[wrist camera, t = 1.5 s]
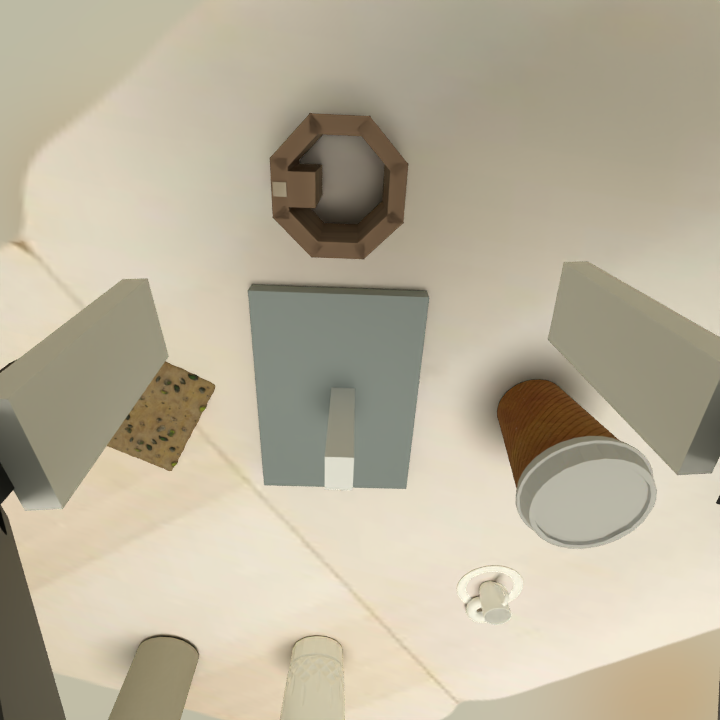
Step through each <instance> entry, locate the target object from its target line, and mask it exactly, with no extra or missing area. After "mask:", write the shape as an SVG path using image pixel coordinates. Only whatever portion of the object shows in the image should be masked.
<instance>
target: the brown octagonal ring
mask: <svg viewBox="0 0 720 720" xmlns="http://www.w3.org/2000/svg"><path fill="white" fill-rule="evenodd" d="M323 134H326V135H348V136H362V137H363V138H364V140H365V141H366V142H367V143H368V144H369V146H370V147H371V148H372V149H373V150H374V152H375V153H376V154H377V155H378V157H379V158H380V159H381V160H382V161H383V163H384V164H385V167H384V184H383V200H382V202H381V203H380V204H378V205H377V206H376V207H375V208H374V209H373V210H372V211H371V212H370V213H369V214H368V215H367V216H366V217H365V218H364V219H363V220H362V221H361V222H360V223H358V224H336V223H324V222H323V221H322V220H321V219H320V218H319V217H318V216H317V215H316V213H315V212H314V211H313V210H312V209H311V208H316V206H317V204H318V202H319V200H320V198H321V196H322V165H320V164H300V159H301V158H302V157H303V156H304V154H305V153H306V152H307V151H308V150H309V149H310V148H311V147H312V146H313V145H314V144H315V143H316V142H317V140H318V139H319V138H320V137H321V136H322V135H323ZM270 171H271V191H272V210H273V218H274V219H275V220H276V221H277V222H278V223H279V224H280V225H281V226H282V227H283V228H284V229H285V230H286V232H287V233H288V234H289V235H290V236H291V237H292V238H293V239H294V240H295V241H296V242H297V243H298V244H299V245H300V246H301V247H302V248H303V249H304V250H305V251H306V252H307V253H308V254H309V255H310V256H311V257H321V258H347V259H364V258H365V257H366V256H368V255H369V254H370V253H371V252H372V251H373V250H374V249H375V248H376V247H377V246H378V245H380V244H381V243H382V242H383V241H384V240H385V239H386V238H387V237H388V236H389V235H391V234H392V233H393V232H394V231H395V230H396V229H397V228H398V227H399V226H400V225H402V224H403V223H404V222H403V220H404V208H405V196H406V184H407V172H408V163H407V162H406V161H405V160H404V158H403V157H402V156H401V155H400V153H399V152H398V151H397V150H396V148H395V147H394V146H393V145H392V143H391V142H390V141H389V140H388V138H387V137H386V136H385V134H384V133H383V132H382V131H381V129H380V128H379V127H378V126H377V124H376V123H375V122H374V121H373V119H372V118H371V116H355V115H333V114H313V113H309V115H308V116H307V117H306V118H305V120H304V121H303V122H302V123H301V124H300V125H299V126H298V127H297V128H296V130H295V131H294V132H293V133H292V134H291V135H290V136H289V137H288V138H287V140H286V141H285V142H284V143H283V144H282V145H281V146H280V147H279V149H278V150H277V151H276V152H275V153H274V154H273V155H272V156H271V157H270Z"/></svg>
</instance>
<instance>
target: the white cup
mask: <svg viewBox="0 0 720 720" xmlns="http://www.w3.org/2000/svg"><path fill="white" fill-rule="evenodd" d="M280 720H345V696H344V671H343V653H342V646H341V645H340V644H339V643H338V642H337V641H335V640H333V639H331V638H328V637H322V636H312V637H306V638H303V639H301V640H300V641H298V642H296V644H295V646H294V647H293V649H292V655H291V662H290V668H289V671H288V675H287V682H286V687H285V691H284V697H283V703H282V709H281V716H280Z"/></svg>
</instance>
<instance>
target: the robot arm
mask: <svg viewBox="0 0 720 720" xmlns="http://www.w3.org/2000/svg"><path fill="white" fill-rule="evenodd" d="M548 340H549V341H550V342H551V343H552V344H553V345H554V347H555V348H556V349H557V350H558V351H559V352H560V353H561V354H562V355H563V356H564V357H565V358H566V359H567V360H568V361H569V362H570V363H571V364H572V365H573V366H574V367H575V368H576V370H577V371H578V372H579V373H580V374H581V375H582V376H583V377H584V378H585V379H586V380H587V381H588V382H589V383H590V384H591V385H592V386H593V387H594V388H595V389H596V390H597V392H598V393H599V394H600V395H601V396H602V397H603V398H604V399H605V400H606V401H607V402H608V403H609V404H610V405H611V406H612V407H613V408H614V409H615V410H616V411H617V412H618V414H619V415H620V416H621V417H622V418H623V419H624V420H625V421H626V422H627V423H628V424H629V425H630V426H631V427H632V428H633V429H634V430H635V431H636V432H637V433H638V434H639V435H640V437H641V438H642V439H643V440H644V441H645V442H646V443H647V444H648V445H649V446H650V447H651V448H652V449H653V450H654V451H655V452H656V453H657V454H658V455H659V456H660V457H661V459H662V460H663V461H664V462H665V463H666V464H667V465H668V466H669V467H670V468H671V469H672V470H673V471H674V472H675V473H676V474H677V475H688V474H706V473H712V471H713V469H714V467H715V465H716V463H717V461H718V459H719V457H720V337H718V336H717V335H715V334H713V333H711V332H710V331H708V330H706V329H704V328H703V327H701V326H699V325H697V324H696V323H694V322H692V321H690V320H689V319H687V318H685V317H683V316H682V315H680V314H678V313H676V312H675V311H673V310H671V309H670V308H668V307H666V306H664V305H663V304H661V303H659V302H657V301H656V300H654V299H652V298H650V297H649V296H647V295H645V294H643V293H642V292H640V291H638V290H636V289H635V288H633V287H631V286H629V285H628V284H626V283H624V282H622V281H621V280H619V279H617V278H615V277H614V276H612V275H610V274H608V273H607V272H605V271H603V270H601V269H600V268H598V267H596V266H594V265H593V264H591V263H589V262H564V264H563V269H562V274H561V279H560V284H559V289H558V293H557V298H556V303H555V308H554V313H553V318H552V322H551V327H550V332H549V337H548ZM168 357H169V356H168V352H167V349H166V345H165V341H164V338H163V334H162V330H161V327H160V323H159V319H158V315H157V312H156V308H155V304H154V301H153V297H152V293H151V289H150V286H149V282H148V278H147V279H122V280H121V281H120V282H118V283H117V284H116V285H115V286H113V287H112V288H111V289H109V290H108V291H107V292H105V293H104V294H103V295H101V296H100V297H99V298H98V299H96V300H95V301H94V302H92V303H91V304H90V305H88V306H87V307H86V308H84V309H83V310H82V311H81V312H79V313H78V314H77V315H75V316H74V317H73V318H71V319H70V320H69V321H67V322H66V323H65V324H64V325H62V326H61V327H60V328H58V329H57V330H56V331H54V332H53V333H52V334H50V335H49V336H48V337H47V338H45V339H44V340H43V341H41V342H40V343H39V344H37V345H36V346H35V347H33V348H32V349H31V350H30V351H28V352H27V353H26V354H24V355H23V356H22V357H20V358H19V359H17V360H15V361H13V362H11V363H9V364H8V365H6V366H5V367H4V368H3V369H1V370H0V720H66V718H65V714H64V711H63V707H62V704H61V700H60V697H59V693H58V690H57V687H56V683H55V679H54V676H53V672H52V669H51V665H50V662H49V658H48V655H47V651H46V648H45V644H44V641H43V638H42V634H41V631H40V627H39V624H38V620H37V617H36V613H35V610H34V606H33V603H32V599H31V596H30V592H29V589H28V585H27V582H26V578H25V575H24V571H23V568H22V564H21V561H20V557H19V554H18V550H17V547H16V543H15V540H14V536H13V533H12V529H11V526H10V522H9V519H8V516H7V515H6V513H5V511H4V510H3V508H2V506H1V503H2V502H3V501H4V500H5V499H6V498H7V496H8V495H9V494H10V493H11V492H12V491H13V490H14V492H15V494H16V495H17V497H18V499H19V501H20V502H21V504H22V506H23V508H24V510H25V511H31V510H49V509H63V508H64V506H65V505H66V503H67V502H68V501H69V499H70V498H71V496H72V495H73V493H74V492H75V490H76V489H77V488H78V486H79V485H80V483H81V482H82V480H83V479H84V478H85V476H86V475H87V473H88V472H89V470H90V469H91V467H92V466H93V465H94V463H95V462H96V460H97V459H98V457H99V456H100V454H101V453H102V452H103V450H104V449H105V447H106V446H107V444H108V443H109V442H110V440H111V439H112V437H113V436H114V434H115V433H116V431H117V430H118V429H119V427H120V426H121V424H122V423H123V421H124V420H125V418H126V417H127V416H128V414H129V413H130V411H131V410H132V408H133V407H134V406H135V404H136V403H137V401H138V400H139V398H140V397H141V395H142V394H143V393H144V391H145V390H146V388H147V387H148V385H149V384H150V382H151V381H152V380H153V378H154V377H155V375H156V374H157V372H158V371H159V370H160V368H161V367H162V365H163V364H164V362H165V361H166V359H167V358H168ZM716 503H717V504H720V496H719V498H718V500H717V502H716ZM718 720H720V683H719V704H718Z"/></svg>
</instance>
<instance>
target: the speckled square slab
mask: <svg viewBox="0 0 720 720" xmlns="http://www.w3.org/2000/svg"><path fill="white" fill-rule="evenodd" d="M214 389H215V385H214V384H212V383H211V382H209V381H207V380H204V379H202V378H200V377H198V376H196V375H194V374H192V373H189V372H187V371H186V370H184V369H182V368H179V367H176V366H174V365H171V364H170V363H167V362H164V364H163V365H162V367H161V368H160V370H159V371H158V372H157V374H156V375H155V377H154V378H153V380H152V381H151V382H150V384H149V385H148V387H147V388H146V390H145V391H144V393H143V394H142V395H141V397H140V398H139V400H138V401H137V403H136V404H135V406H134V407H133V408H132V410H131V411H130V413H129V414H128V416H127V417H126V418H125V420H124V421H123V423H122V424H121V426H120V427H119V429H118V430H117V431H116V433H115V434H114V436H113V437H112V439H111V440H110V442H109V443H108V444H107V446H109V447H112V448H114V449H116V450H119V451H121V452H124V453H127V454H129V455H131V456H133V457H137V458H140V459H142V460H144V461H147V462H149V463H151V464H154V465H156V466H159V467H161V468H164V469H166V470H168V471H172V469H173V467H174V466H175V465H176V464H177V463H178V458H179V457H180V455H181V453H182V452H183V450H184V447H185V444H186V443H187V441H188V439H189V438H190V436H191V433H192V431H193V429H194V427H195V426H196V425H197V422H198V421H199V418H200V416H201V414H202V412H203V411H204V410H205V409H206V406H207V402H208V400H209V399H210V397H211V395H212V394H213V392H214Z"/></svg>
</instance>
